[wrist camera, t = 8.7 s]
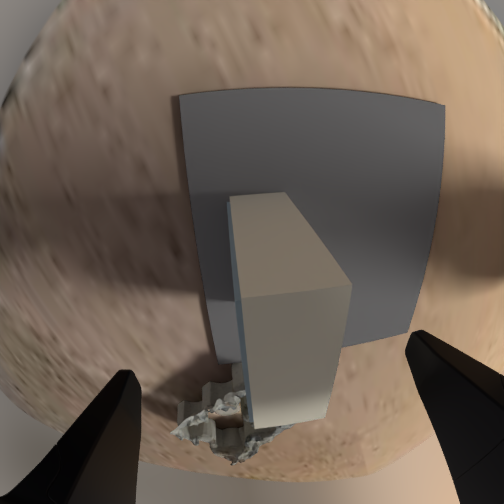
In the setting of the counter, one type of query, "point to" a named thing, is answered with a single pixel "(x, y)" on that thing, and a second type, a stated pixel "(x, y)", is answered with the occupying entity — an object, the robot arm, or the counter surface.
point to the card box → (285, 309)
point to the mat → (320, 191)
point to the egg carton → (225, 404)
